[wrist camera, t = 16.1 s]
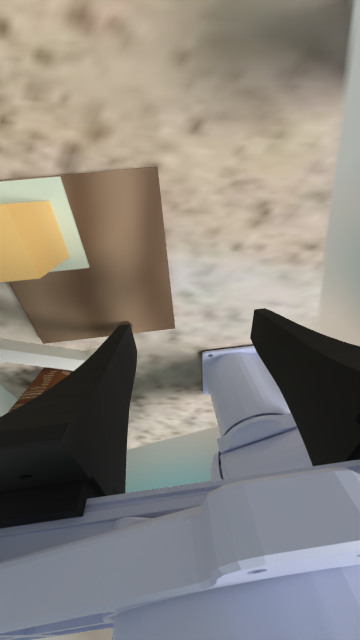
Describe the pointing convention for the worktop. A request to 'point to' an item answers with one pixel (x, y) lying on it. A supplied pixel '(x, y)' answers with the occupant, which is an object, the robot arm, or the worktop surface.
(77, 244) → the sage mat
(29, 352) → the strap
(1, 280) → the plug block
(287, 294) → the worktop surface
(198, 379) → the worktop surface
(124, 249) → the brown tray
